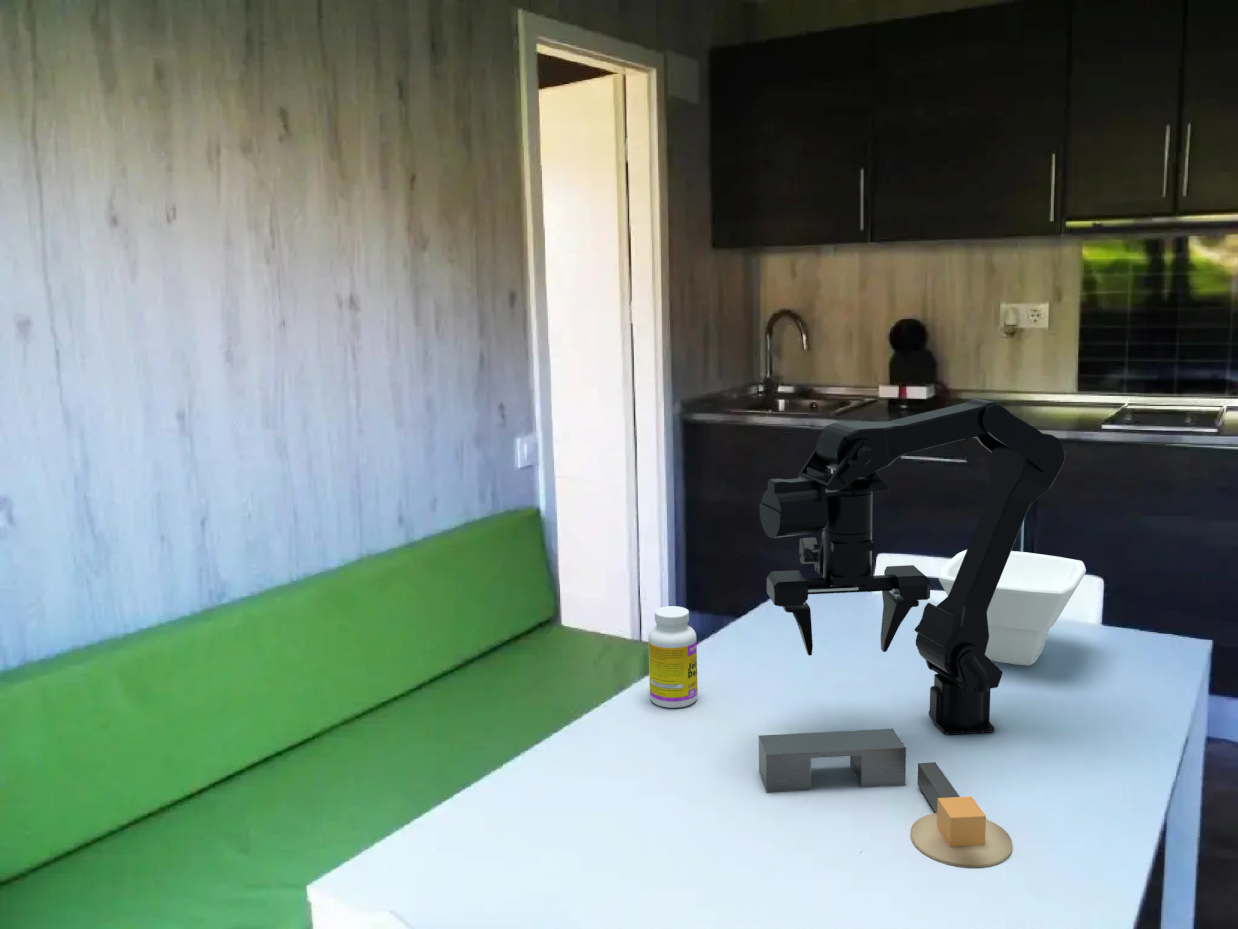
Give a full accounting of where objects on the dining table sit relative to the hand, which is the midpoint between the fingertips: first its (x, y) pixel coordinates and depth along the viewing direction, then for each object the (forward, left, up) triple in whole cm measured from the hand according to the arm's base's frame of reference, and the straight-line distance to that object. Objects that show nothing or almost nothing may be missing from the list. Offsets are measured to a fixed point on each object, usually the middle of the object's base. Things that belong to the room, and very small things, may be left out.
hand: (846, 652), depth 129 cm
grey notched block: (+4, +8, -12) cm, 15 cm away
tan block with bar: (-6, +18, -12) cm, 22 cm away
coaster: (-6, +23, -12) cm, 27 cm away
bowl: (-31, -25, -12) cm, 42 cm away
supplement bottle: (+20, -16, -12) cm, 28 cm away
